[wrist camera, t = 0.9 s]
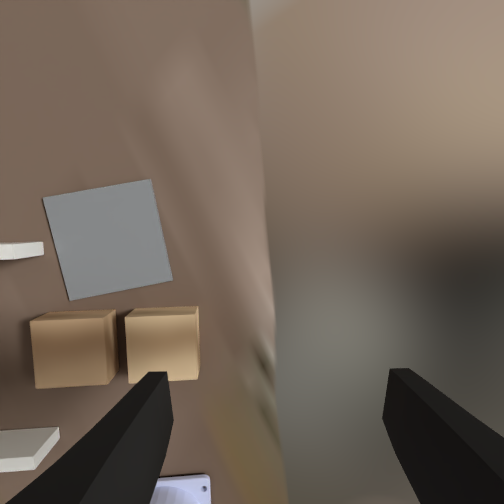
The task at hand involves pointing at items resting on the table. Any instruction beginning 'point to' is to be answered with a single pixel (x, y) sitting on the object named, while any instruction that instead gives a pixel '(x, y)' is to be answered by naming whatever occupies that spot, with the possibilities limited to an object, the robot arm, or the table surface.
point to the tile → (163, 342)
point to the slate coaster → (108, 239)
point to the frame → (24, 440)
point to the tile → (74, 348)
